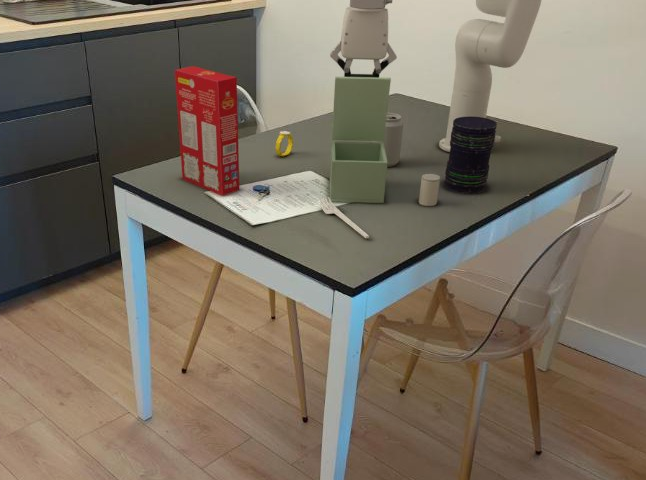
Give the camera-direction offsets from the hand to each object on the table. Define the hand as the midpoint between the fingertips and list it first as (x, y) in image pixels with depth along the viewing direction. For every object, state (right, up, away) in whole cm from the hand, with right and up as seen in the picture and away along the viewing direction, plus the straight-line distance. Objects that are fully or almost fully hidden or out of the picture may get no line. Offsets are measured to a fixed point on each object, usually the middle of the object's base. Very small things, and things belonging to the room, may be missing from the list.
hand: (360, 89), depth 160 cm
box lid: (0, -5, -1) cm, 6 cm away
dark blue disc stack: (+26, -20, +7) cm, 33 cm away
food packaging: (-35, -20, +7) cm, 41 cm away
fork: (-5, -32, -10) cm, 34 cm away
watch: (-17, -8, +25) cm, 31 cm away
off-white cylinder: (+15, -26, -2) cm, 30 cm away
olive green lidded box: (-1, -22, +4) cm, 23 cm away
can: (+9, -11, +20) cm, 25 cm away
